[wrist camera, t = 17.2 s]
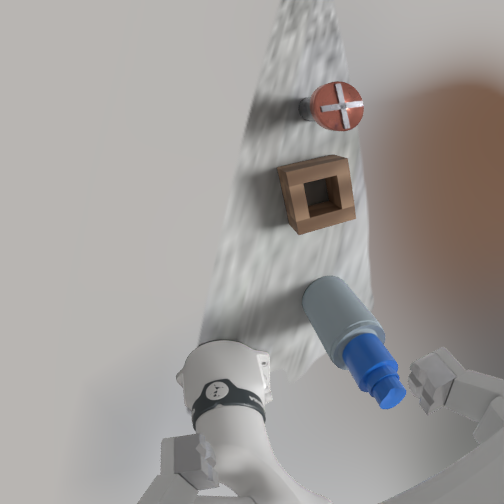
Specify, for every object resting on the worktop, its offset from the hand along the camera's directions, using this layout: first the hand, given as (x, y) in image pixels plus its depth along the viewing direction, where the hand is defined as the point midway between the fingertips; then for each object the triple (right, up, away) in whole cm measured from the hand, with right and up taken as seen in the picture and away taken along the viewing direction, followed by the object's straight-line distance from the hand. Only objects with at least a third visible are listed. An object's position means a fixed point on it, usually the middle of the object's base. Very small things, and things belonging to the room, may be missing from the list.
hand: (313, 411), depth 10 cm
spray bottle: (+11, -2, +44) cm, 45 cm away
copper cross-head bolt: (+6, +26, +31) cm, 41 cm away
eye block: (+7, +15, +35) cm, 39 cm away
